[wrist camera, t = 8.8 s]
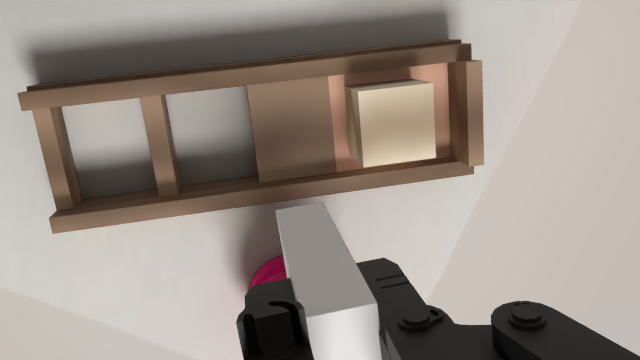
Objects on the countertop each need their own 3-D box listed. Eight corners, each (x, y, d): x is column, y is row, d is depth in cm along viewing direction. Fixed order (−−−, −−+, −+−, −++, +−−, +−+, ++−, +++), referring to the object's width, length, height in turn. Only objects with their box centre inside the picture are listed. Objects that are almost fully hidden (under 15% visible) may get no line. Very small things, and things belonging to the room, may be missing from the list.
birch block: (344, 86, 34) (357, 91, 30) (411, 78, 35) (432, 82, 31) (349, 153, 35) (363, 167, 31) (414, 145, 36) (436, 157, 32)
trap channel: (38, 84, 33) (5, 91, 28) (449, 39, 36) (481, 39, 32) (70, 218, 36) (45, 246, 31) (453, 165, 39) (484, 183, 34)
